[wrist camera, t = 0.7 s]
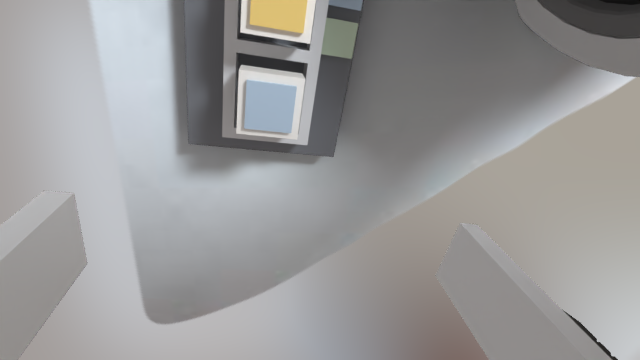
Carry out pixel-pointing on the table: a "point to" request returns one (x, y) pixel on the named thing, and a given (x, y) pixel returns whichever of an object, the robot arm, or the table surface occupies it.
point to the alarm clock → (589, 30)
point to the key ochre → (278, 19)
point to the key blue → (269, 102)
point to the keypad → (259, 51)
